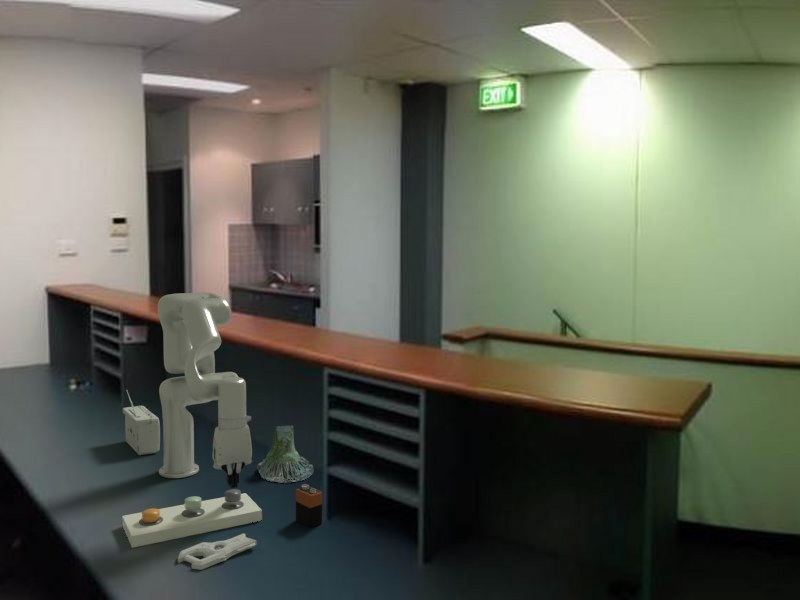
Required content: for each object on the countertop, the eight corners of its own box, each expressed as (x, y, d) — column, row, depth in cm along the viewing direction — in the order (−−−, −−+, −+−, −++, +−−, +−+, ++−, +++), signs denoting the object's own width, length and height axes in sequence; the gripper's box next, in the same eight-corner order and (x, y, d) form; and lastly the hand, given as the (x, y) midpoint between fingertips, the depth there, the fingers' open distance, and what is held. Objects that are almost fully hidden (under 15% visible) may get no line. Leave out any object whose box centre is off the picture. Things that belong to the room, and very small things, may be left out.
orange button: (140, 517, 182) (140, 510, 182) (157, 514, 185) (157, 507, 184) (143, 523, 179) (143, 516, 178) (161, 520, 181) (161, 513, 181)
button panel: (122, 526, 185) (122, 515, 185) (245, 502, 202) (245, 492, 202) (132, 547, 173) (131, 535, 173) (261, 520, 190) (261, 509, 190)
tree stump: (258, 487, 216) (254, 429, 218) (257, 480, 235) (253, 427, 237) (316, 480, 220) (312, 424, 222) (310, 474, 239) (307, 422, 241)
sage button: (182, 505, 188) (182, 498, 188) (199, 502, 190) (199, 495, 190) (186, 511, 184) (186, 503, 184) (203, 507, 186) (203, 500, 186)
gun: (237, 524, 180) (259, 537, 173) (237, 537, 180) (259, 550, 173) (172, 550, 167) (193, 565, 160) (173, 563, 167) (193, 579, 160)
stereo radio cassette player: (161, 453, 245) (160, 398, 243) (137, 457, 240) (135, 401, 238) (145, 438, 262) (144, 386, 260) (122, 441, 257) (121, 389, 255)
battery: (307, 516, 194) (307, 481, 193) (322, 523, 189) (323, 488, 188) (294, 520, 191) (295, 485, 190) (310, 528, 186) (310, 492, 185)
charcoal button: (222, 497, 194) (222, 491, 193) (238, 495, 196) (238, 488, 196) (227, 503, 190) (227, 496, 190) (242, 500, 192) (242, 493, 192)
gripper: (254, 415, 197) (254, 477, 199) (201, 422, 190) (202, 486, 192) (262, 422, 191) (263, 486, 193) (209, 429, 183) (209, 495, 185)
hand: (233, 486), depth 192 cm, fingers closed
